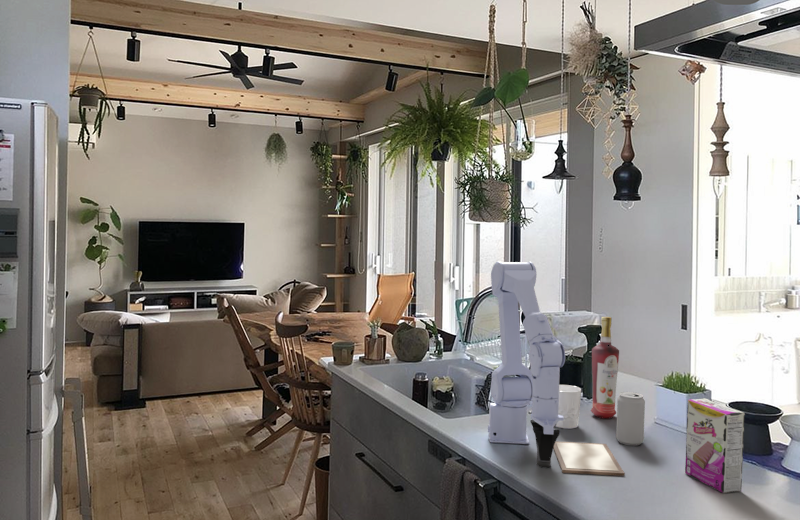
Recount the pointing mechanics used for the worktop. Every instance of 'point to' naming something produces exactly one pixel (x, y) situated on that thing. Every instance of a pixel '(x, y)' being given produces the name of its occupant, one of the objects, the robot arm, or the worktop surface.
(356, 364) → the worktop surface
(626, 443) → the beverage can
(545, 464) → the grey yellow rounded cylinder
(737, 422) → the candy bar box
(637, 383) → the worktop surface
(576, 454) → the writing board
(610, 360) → the liquor
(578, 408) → the white cup
